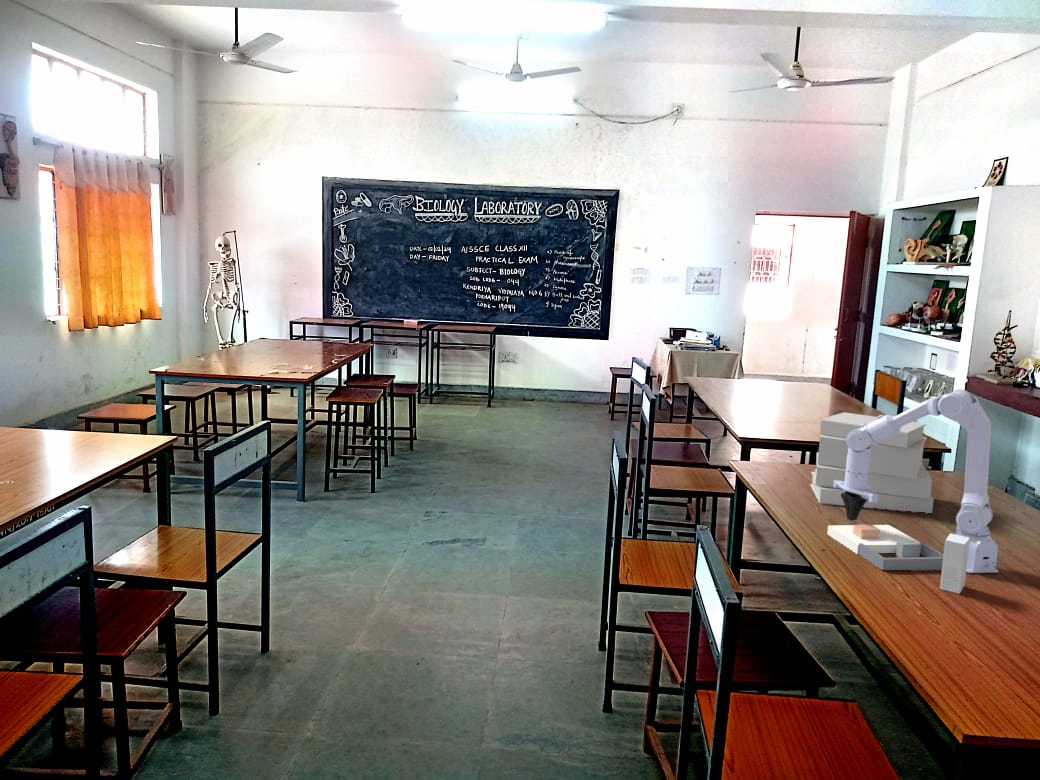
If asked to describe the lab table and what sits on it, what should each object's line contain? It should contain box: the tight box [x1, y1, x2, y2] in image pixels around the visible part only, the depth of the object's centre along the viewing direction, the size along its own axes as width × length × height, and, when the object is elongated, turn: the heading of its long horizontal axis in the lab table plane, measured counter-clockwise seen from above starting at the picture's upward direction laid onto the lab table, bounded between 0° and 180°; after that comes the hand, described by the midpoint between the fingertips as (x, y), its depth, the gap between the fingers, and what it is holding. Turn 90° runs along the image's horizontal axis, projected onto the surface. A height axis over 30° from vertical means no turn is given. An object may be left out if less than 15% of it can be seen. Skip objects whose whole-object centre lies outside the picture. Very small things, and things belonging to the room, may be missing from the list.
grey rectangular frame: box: [857, 541, 944, 571], centre depth 188 cm, size 11×18×3 cm, turn 96°
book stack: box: [809, 411, 934, 514], centre depth 241 cm, size 30×35×26 cm
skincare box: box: [939, 533, 970, 595], centre depth 173 cm, size 6×4×12 cm
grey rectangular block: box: [894, 541, 921, 558], centre depth 192 cm, size 4×5×2 cm
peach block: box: [853, 524, 880, 539], centre depth 199 cm, size 4×5×2 cm
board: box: [826, 524, 920, 555], centre depth 201 cm, size 15×18×2 cm
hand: (852, 519), depth 206 cm, fingers closed
